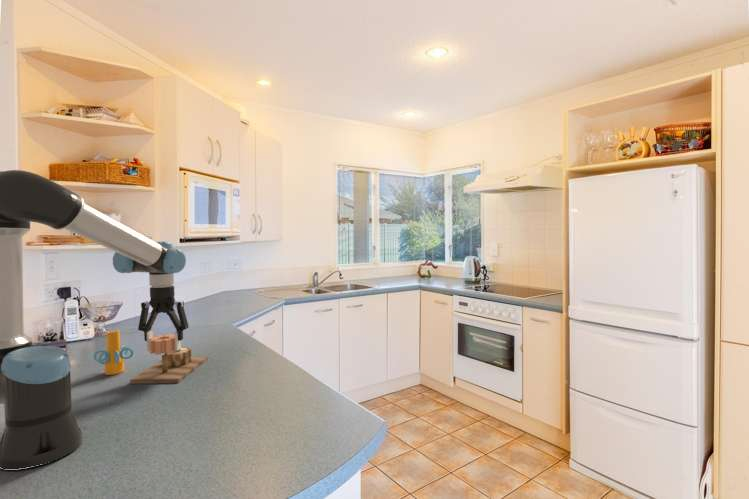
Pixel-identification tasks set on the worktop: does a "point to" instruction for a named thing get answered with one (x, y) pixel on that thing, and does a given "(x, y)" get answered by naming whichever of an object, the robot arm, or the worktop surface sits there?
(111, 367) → the orange post with rings
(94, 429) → the worktop surface
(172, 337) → the gear
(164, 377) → the gear board
